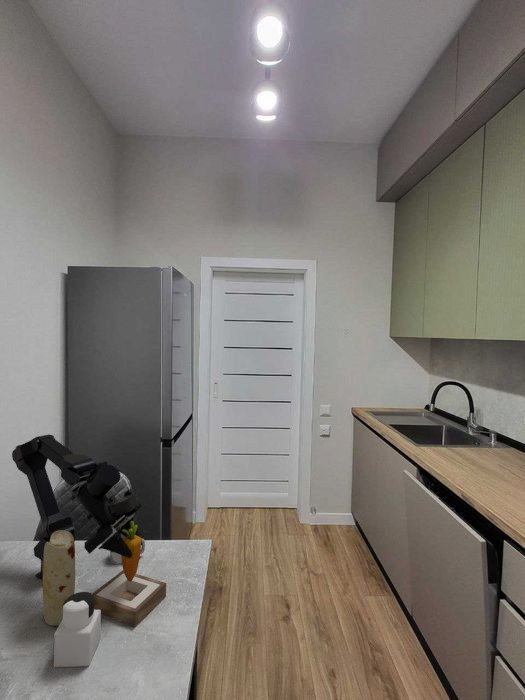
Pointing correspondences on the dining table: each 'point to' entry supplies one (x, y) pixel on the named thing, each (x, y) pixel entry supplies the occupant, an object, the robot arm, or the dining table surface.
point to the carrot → (135, 548)
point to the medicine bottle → (77, 632)
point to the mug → (116, 557)
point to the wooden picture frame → (123, 585)
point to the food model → (58, 575)
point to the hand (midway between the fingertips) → (136, 550)
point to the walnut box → (125, 612)
